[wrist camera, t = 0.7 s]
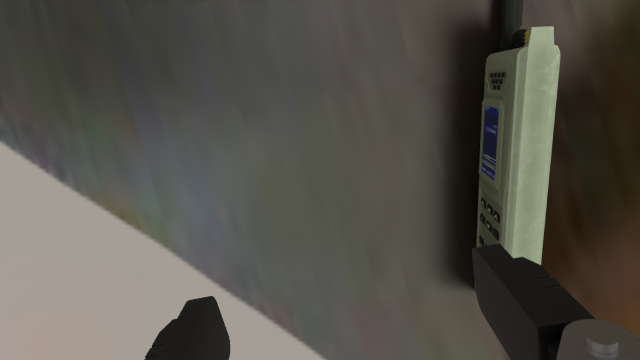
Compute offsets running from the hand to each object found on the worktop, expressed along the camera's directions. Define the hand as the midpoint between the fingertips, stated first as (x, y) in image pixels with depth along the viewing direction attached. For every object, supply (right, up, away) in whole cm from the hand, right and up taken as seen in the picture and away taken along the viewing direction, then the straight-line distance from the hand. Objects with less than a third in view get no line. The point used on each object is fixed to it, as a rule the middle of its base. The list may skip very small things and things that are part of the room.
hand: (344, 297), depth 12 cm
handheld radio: (+13, +6, +18) cm, 23 cm away
